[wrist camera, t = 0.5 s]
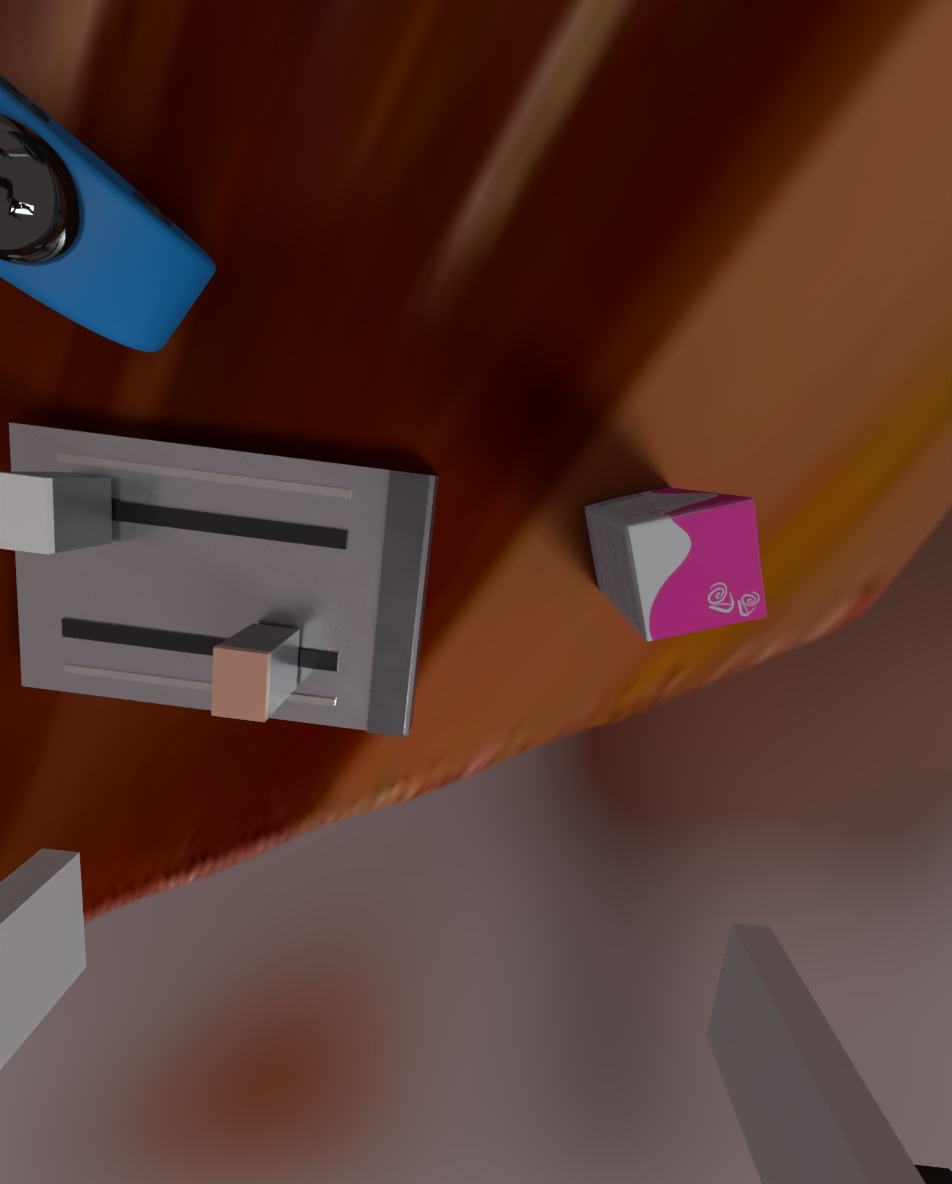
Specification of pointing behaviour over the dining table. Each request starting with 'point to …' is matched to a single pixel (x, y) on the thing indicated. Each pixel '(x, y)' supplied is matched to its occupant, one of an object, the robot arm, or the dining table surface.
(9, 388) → the dining table surface
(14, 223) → the alarm clock
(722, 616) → the supplement box
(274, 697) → the fader terracotta
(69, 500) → the fader white
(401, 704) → the console
